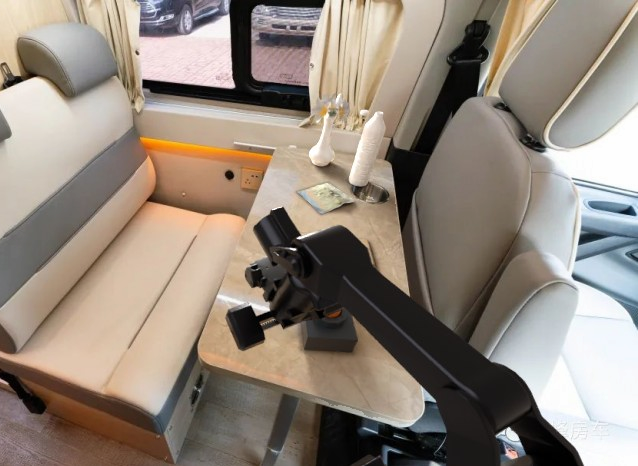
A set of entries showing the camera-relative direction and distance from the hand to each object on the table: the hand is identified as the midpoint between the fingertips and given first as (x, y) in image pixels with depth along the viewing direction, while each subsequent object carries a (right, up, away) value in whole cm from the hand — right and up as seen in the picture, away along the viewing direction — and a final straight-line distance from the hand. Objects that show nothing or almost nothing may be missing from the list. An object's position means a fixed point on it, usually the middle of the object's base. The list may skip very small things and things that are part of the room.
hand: (274, 327), depth 58 cm
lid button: (+13, +1, +10) cm, 17 cm away
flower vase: (+28, +45, +69) cm, 87 cm away
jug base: (+13, -4, +15) cm, 20 cm away
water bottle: (+38, +35, +58) cm, 78 cm away
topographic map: (+25, +29, +51) cm, 64 cm away
